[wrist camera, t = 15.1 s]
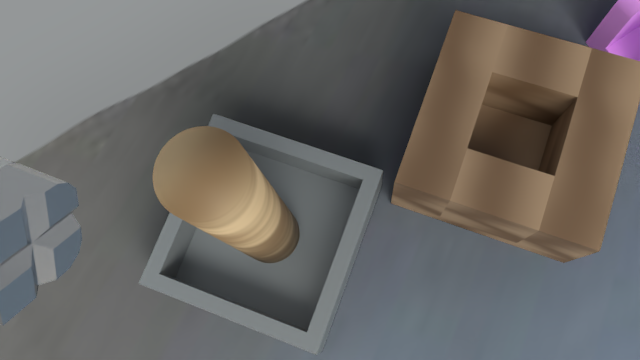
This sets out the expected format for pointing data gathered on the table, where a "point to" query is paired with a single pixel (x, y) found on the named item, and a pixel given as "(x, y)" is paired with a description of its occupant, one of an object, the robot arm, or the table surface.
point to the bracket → (619, 30)
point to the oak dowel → (224, 194)
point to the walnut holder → (521, 138)
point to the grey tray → (291, 273)
